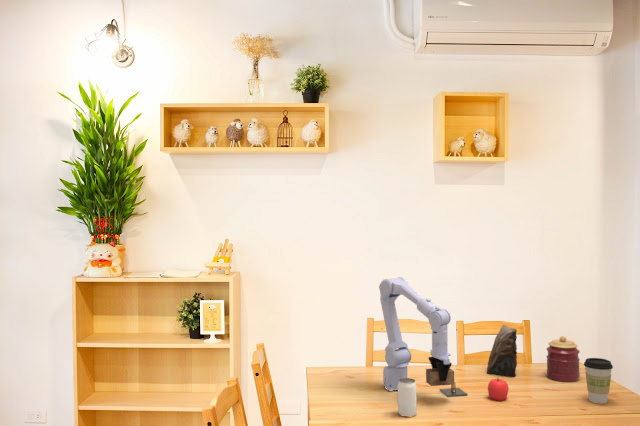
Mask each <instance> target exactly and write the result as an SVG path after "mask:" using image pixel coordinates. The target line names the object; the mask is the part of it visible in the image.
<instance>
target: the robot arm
mask: <svg viewBox="0 0 640 426" xmlns="http://www.w3.org/2000/svg"><path fill="white" fill-rule="evenodd" d="M378 288H379V292H380V293H379V294H380V298H379V299H380V300H379V301H380V305H381V311H382V315H383V320H384V324H385V330H386V335H387V339H388V343H387V345H386V346H385V349H384V351H385V356H384V357H385V358H384V359H385V362H386V364H387V366H383V369H382V370H383V371H382V373H383V376H382V378H383V379H382V381H383V384H382V386H383V385H384V386H385V387H386V388H387V389H386V388H385V387H384V386H383V387H384V388H385V389H386V391H388V390H398V383H399V379H402V378H408V366H409V363H410V362H411V360H412V354H411V353H412V352H411V351H410V349H409V347H408V344H407V343H406V342H405V341H404V340H403V338H402V332H401V327H400V323H399V319H398V318H399V317H398V313H397V308H396V304H395V302H396V300H397V299H398V297H400V296H401V295H402V296H404V297H405V298H406V299H408V300H409V301H411V302H412V303H413V304H414V305H416V309H417V311H418V312H420V313H421V314H422V315H423V316H424V317H426V318H427V321H428V323H429V325H430V330H431V349H430V356H429V357H427V359H428V361H429V362H430V363H429V364H430V366H431V369H432V368H438V372H439V379H440V381H446V379H447V374H448V371H449V369H451V367H452V362H450V361H451V360H450V358H449V357H451V353H450V352H448V325H449V324H450V322H451V315H450V312H449V311H448V310H447V309H443V308H440V307H439V306H437V305H436V304H434V302H432V299H430V298H427V297H422V296H420V294H418V292H416V291H415V290H414V289H413V288H412V286H410V285H409V282H408V281H407V280H406V279H404V278H403V277H401V276H399V277H395V278H385V279H383V280H382V281H381V282H380V284H379V286H378Z"/></svg>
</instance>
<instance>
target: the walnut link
mask: <svg viewBox="0 0 640 426" xmlns="http://www.w3.org/2000/svg"><path fill="white" fill-rule="evenodd" d="M454 382H455V370H453V369H451V368H450V369H449V371H448V374H447V379H446V381H440V379H439V372H438V368H432V367H431V368H425V383H427V384H428V385H429V386H431V387H436V386H439V387H440V386H451V385H454Z"/></svg>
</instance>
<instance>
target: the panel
mask: <svg viewBox="0 0 640 426" xmlns="http://www.w3.org/2000/svg"><path fill="white" fill-rule="evenodd" d="M439 391H440V392H441V393H443V395H445V396H446V397H447V398H451V397H452V398H454V397H466V396H468V393H467V392H465V390H462V389H461V388H460V387H457V385H456V382H455V381H454V385H450V387H449V388H439Z"/></svg>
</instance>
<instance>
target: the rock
mask: <svg viewBox="0 0 640 426" xmlns="http://www.w3.org/2000/svg"><path fill="white" fill-rule="evenodd" d="M517 331H518V330H517V329H516V328H513V327H510V326H507V325H506V324H502V325H501V328H500V329H499V331H498V333H497V335H496V336H495V339H494V342H493V345H492V347H491V348H492V349H491V351H490V354H489V357H488V362H487V367H486V375H493V376H500V377H506V378H515V377H516V376H517V374H516V370H517V367H518V366H517V365H518V362H517V358H518V355H517V353H518V352H517V349H518V348H517V339H518V337H517Z"/></svg>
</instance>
